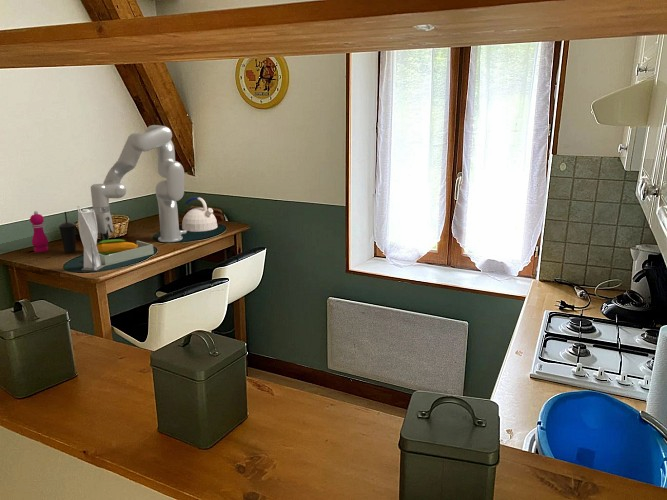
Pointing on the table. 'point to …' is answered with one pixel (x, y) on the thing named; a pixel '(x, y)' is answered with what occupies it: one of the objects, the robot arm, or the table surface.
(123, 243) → the corn
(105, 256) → the bin
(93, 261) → the skyscraper
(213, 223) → the kettle
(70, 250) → the drinking cup
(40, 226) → the pepper mill
